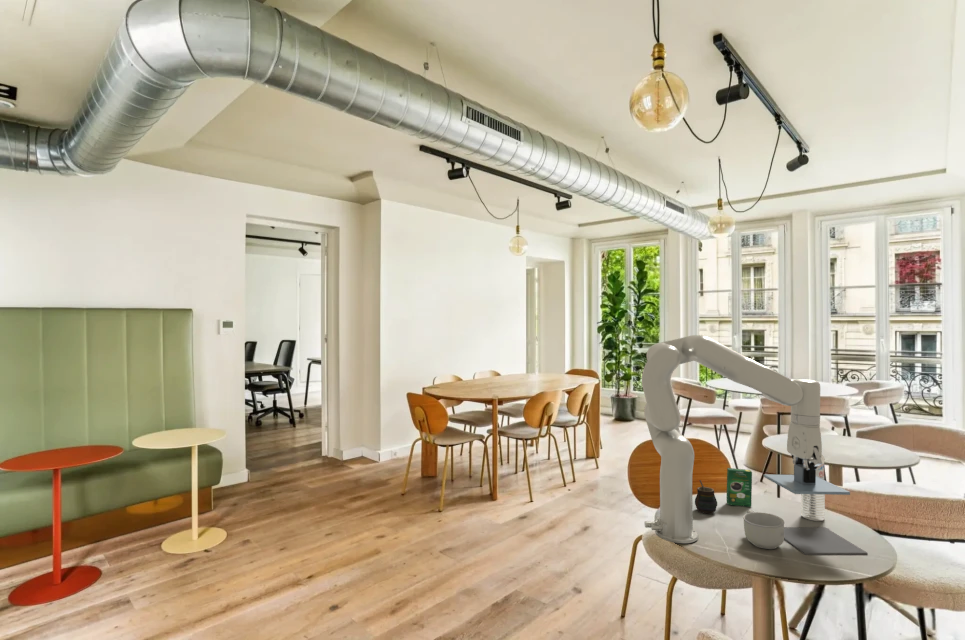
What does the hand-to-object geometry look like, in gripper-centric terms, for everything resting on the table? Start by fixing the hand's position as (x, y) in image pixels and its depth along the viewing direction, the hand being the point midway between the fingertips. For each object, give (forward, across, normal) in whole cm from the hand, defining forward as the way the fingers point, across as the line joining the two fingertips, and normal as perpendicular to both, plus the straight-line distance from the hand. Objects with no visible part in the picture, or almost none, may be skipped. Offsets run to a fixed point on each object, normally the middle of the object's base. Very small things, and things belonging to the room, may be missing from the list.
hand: (804, 479), depth 153 cm
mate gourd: (+19, -24, -19) cm, 37 cm away
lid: (+2, 0, 0) cm, 2 cm away
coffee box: (+19, -30, -4) cm, 36 cm away
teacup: (+19, +1, -13) cm, 23 cm away
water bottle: (+19, -18, +15) cm, 30 cm away
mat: (+19, 0, +4) cm, 19 cm away
